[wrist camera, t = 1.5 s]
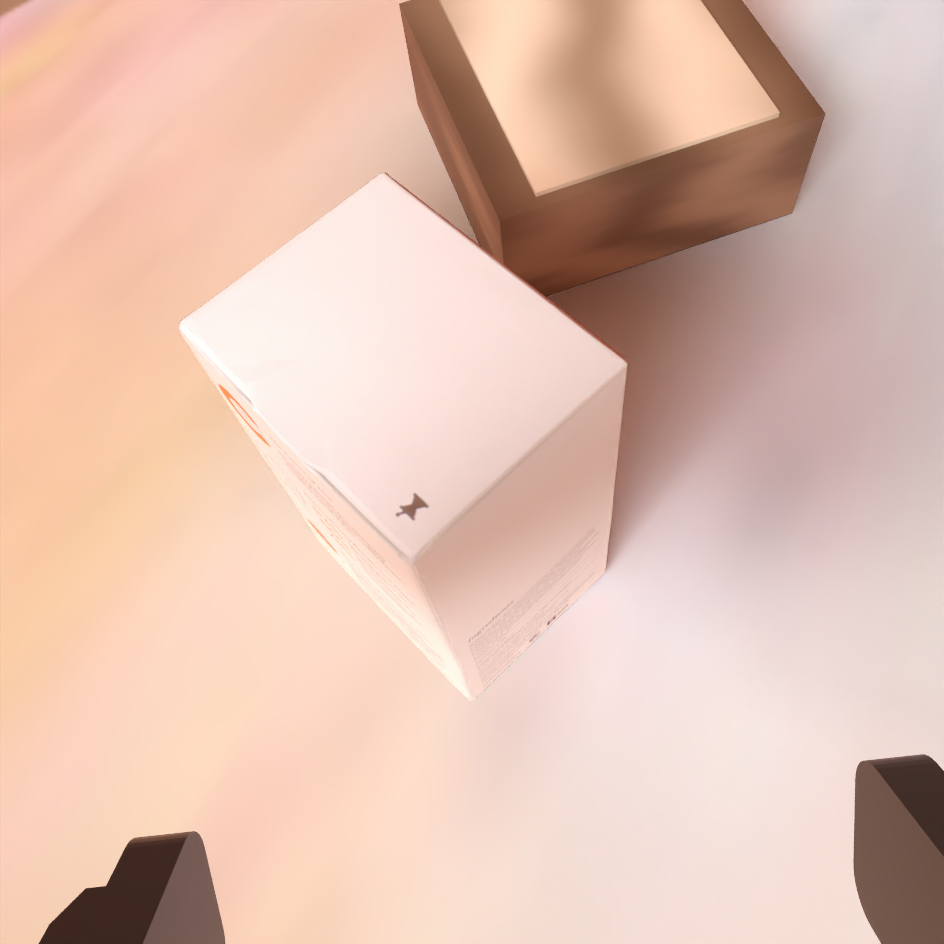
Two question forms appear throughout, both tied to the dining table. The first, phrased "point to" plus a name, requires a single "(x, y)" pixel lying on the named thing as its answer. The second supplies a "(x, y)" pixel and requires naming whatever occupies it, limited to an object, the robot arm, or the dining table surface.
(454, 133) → the plinth
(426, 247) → the small box
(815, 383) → the dining table surface
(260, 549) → the dining table surface
